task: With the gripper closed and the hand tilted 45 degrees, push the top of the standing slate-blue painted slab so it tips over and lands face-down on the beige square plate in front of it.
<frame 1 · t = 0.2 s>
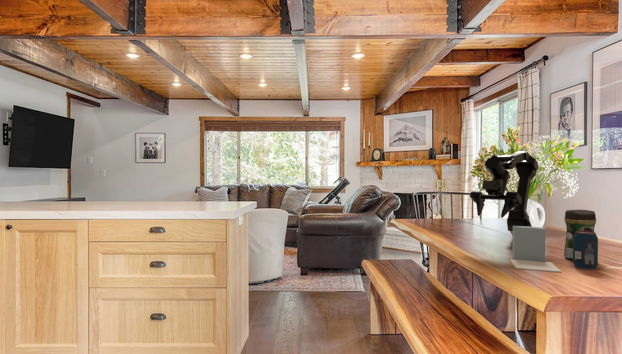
hand: (489, 216, 156), 15 cm above the table, tool tilted 30°, fingers open, 9 cm apart
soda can: (584, 268, 134), on the table
coffee jar: (579, 260, 148), on the table
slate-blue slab: (528, 259, 146), on the table
beige square plate: (534, 266, 135), on the table
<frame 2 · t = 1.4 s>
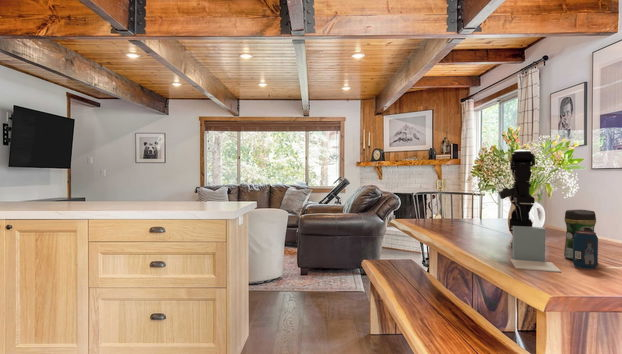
hand: (521, 220, 160), 13 cm above the table, tool pointing down, fingers open, 9 cm apart
nothing on the table moved.
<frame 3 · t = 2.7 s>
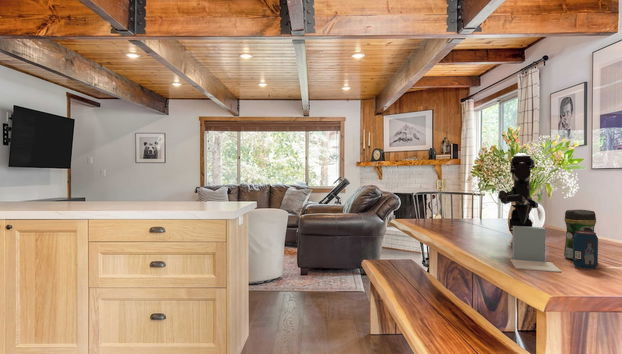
hand: (522, 223, 158), 12 cm above the table, tool pointing down, fingers closed
nothing on the table moved.
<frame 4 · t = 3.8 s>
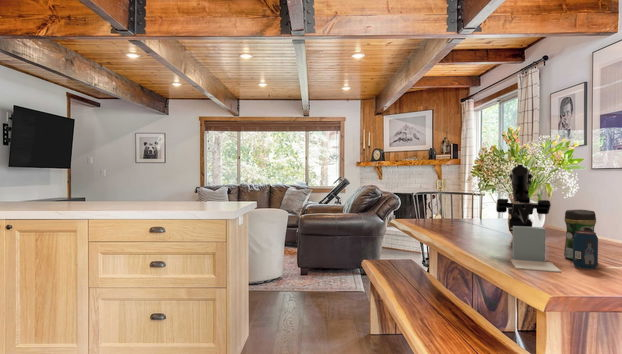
hand: (524, 222, 153), 13 cm above the table, tool tilted 45°, fingers closed
nothing on the table moved.
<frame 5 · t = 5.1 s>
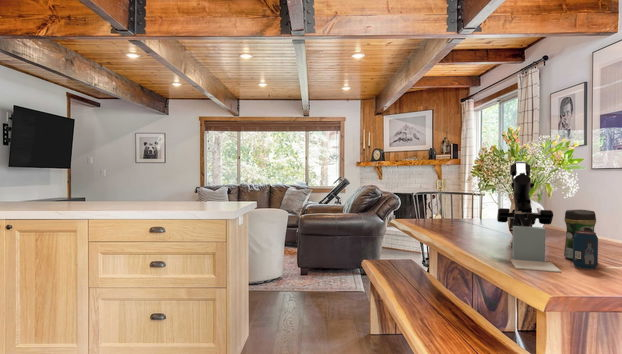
hand: (526, 233, 149), 9 cm above the table, tool tilted 45°, fingers closed
nothing on the table moved.
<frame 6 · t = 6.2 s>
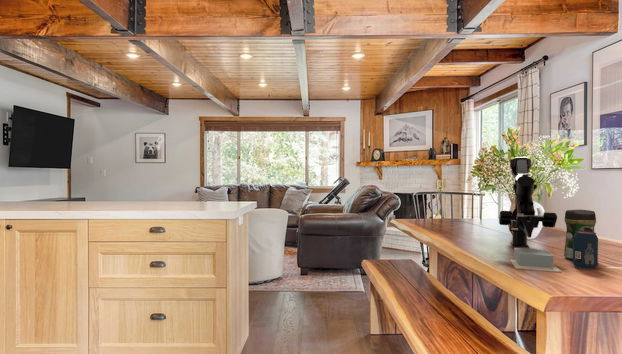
hand: (529, 236, 144), 9 cm above the table, tool tilted 45°, fingers closed
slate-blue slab: (529, 254, 144), point 2 cm above the table, tilted 90°, touching beige square plate
everything else where it was.
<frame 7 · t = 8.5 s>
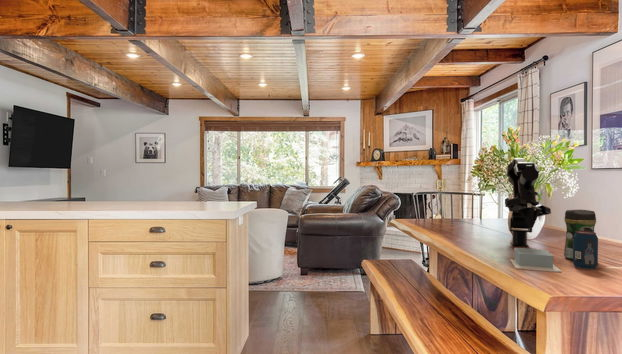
hand: (531, 227, 155), 11 cm above the table, tool tilted 25°, fingers closed
nothing on the table moved.
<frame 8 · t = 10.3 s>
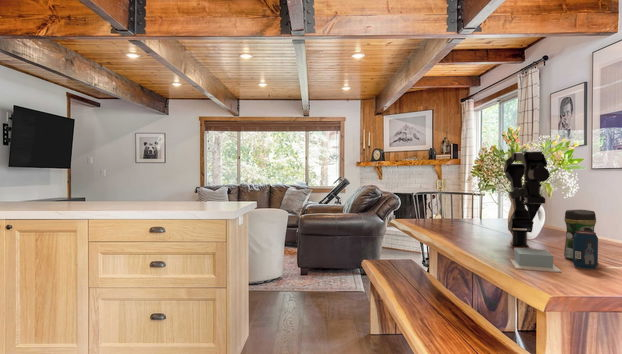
hand: (531, 219, 162), 13 cm above the table, tool pointing down, fingers closed
nothing on the table moved.
at the end: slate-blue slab tilted 90°; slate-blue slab touching beige square plate; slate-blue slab inside the target area (5.0 cm from its centre), point 2.4 cm above the table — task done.
